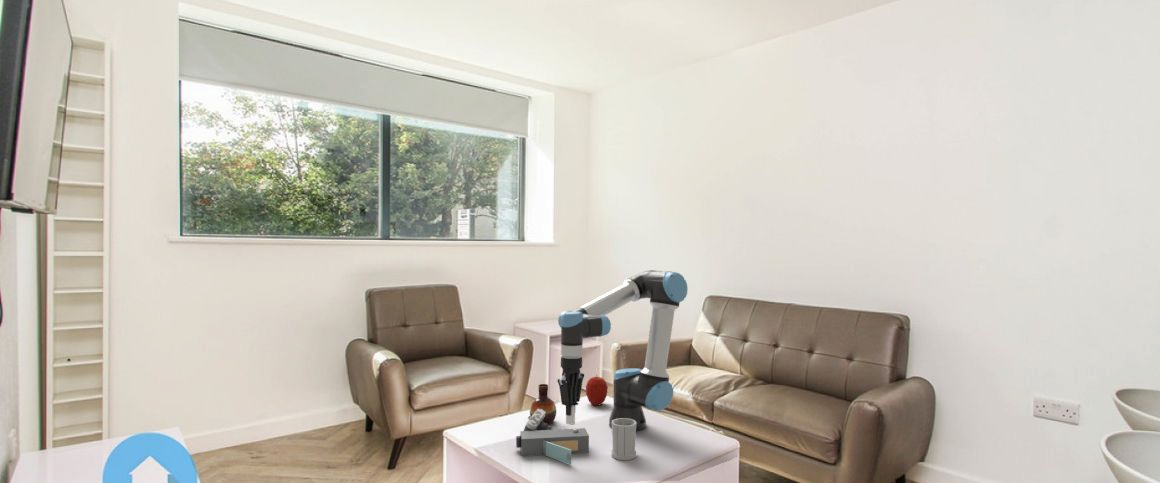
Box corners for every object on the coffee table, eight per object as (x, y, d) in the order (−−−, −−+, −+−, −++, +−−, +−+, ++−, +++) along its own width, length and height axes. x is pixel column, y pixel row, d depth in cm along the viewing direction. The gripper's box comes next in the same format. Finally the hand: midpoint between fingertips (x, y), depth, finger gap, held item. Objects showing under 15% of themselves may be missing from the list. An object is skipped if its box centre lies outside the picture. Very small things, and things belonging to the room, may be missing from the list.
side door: (571, 463, 188) (571, 449, 188) (569, 464, 187) (569, 450, 187) (544, 453, 197) (544, 440, 196) (542, 454, 196) (542, 441, 196)
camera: (516, 441, 206) (526, 417, 205) (529, 425, 222) (539, 402, 220) (537, 453, 204) (549, 429, 203) (549, 436, 220) (559, 413, 219)
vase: (555, 426, 226) (555, 389, 226) (528, 426, 226) (528, 388, 226) (556, 418, 237) (557, 382, 237) (531, 417, 237) (531, 381, 237)
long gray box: (584, 444, 207) (585, 426, 207) (588, 452, 199) (589, 433, 199) (515, 447, 203) (516, 429, 203) (517, 456, 195) (517, 437, 195)
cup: (610, 449, 202) (611, 416, 202) (635, 449, 202) (636, 416, 202) (611, 460, 192) (611, 426, 192) (637, 461, 192) (638, 426, 192)
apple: (607, 408, 251) (607, 377, 251) (585, 407, 252) (585, 377, 252) (607, 401, 262) (607, 372, 261) (586, 401, 262) (586, 371, 262)
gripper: (573, 352, 201) (572, 417, 201) (551, 357, 190) (550, 426, 190) (590, 354, 197) (589, 421, 197) (569, 360, 186) (567, 431, 186)
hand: (570, 423), depth 193 cm, fingers closed
